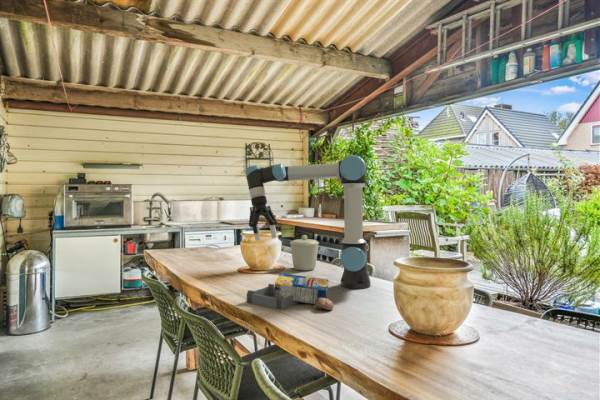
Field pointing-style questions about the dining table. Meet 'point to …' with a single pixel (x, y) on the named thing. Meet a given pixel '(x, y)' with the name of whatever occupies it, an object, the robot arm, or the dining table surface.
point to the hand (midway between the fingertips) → (266, 239)
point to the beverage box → (301, 287)
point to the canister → (304, 253)
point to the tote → (269, 298)
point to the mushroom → (324, 304)
